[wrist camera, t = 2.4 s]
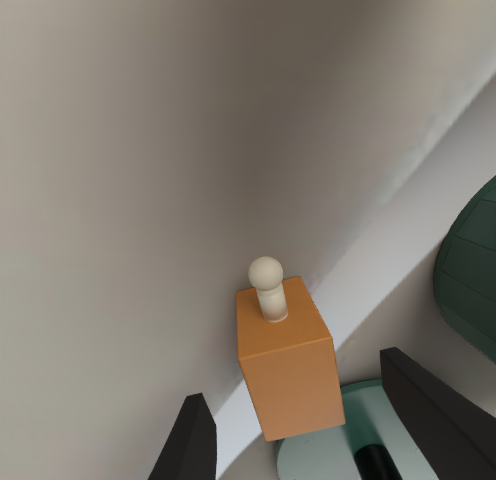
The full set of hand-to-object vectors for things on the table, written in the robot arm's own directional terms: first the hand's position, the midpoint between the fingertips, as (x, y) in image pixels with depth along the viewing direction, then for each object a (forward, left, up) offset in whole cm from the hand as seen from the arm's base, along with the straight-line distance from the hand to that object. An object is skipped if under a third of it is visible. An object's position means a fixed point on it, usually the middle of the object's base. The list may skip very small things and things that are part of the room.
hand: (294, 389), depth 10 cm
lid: (-12, -4, -4) cm, 13 cm away
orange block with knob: (+1, 0, -4) cm, 5 cm away
